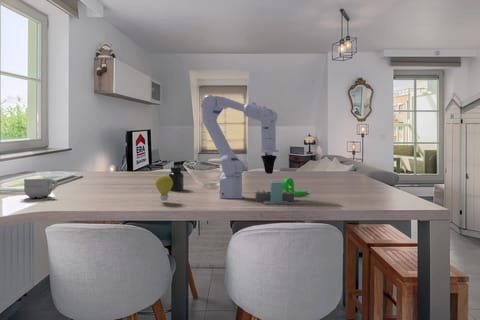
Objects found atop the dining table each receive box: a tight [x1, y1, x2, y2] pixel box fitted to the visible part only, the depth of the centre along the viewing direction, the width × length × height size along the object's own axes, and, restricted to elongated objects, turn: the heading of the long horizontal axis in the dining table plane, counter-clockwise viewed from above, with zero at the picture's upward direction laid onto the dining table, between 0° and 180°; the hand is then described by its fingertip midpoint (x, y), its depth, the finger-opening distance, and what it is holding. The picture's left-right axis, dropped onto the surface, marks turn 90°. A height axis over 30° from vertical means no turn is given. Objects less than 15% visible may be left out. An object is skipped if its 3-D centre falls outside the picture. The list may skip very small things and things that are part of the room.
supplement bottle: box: [168, 166, 185, 192], centre depth 184 cm, size 7×7×12 cm
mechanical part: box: [282, 177, 308, 198], centre depth 171 cm, size 12×6×8 cm, turn 135°
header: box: [254, 189, 295, 203], centre depth 154 cm, size 14×8×4 cm, turn 90°
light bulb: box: [155, 174, 173, 202], centre depth 154 cm, size 7×7×10 cm
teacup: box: [23, 178, 58, 198], centre depth 165 cm, size 14×11×8 cm
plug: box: [269, 179, 284, 203], centre depth 145 cm, size 4×4×8 cm
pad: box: [263, 201, 291, 206], centre depth 145 cm, size 9×8×1 cm
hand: (268, 173), depth 157 cm, fingers open, 7 cm apart
